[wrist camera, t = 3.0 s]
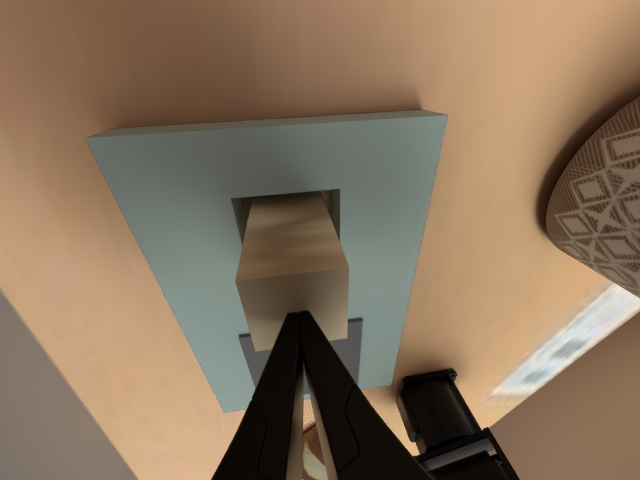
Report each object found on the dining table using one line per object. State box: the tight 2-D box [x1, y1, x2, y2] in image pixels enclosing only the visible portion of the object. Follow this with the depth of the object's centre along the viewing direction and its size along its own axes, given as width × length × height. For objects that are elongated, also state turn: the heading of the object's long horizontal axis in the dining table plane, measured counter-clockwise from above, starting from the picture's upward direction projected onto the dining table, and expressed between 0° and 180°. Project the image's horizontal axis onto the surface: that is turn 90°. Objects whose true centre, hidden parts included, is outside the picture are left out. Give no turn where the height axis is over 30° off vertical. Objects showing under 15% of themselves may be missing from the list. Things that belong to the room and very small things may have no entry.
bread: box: [302, 425, 328, 480], centre depth 34 cm, size 11×11×5 cm
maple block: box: [235, 191, 349, 352], centre depth 13 cm, size 4×4×8 cm
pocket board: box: [85, 110, 448, 413], centre depth 19 cm, size 16×24×3 cm, turn 2°
